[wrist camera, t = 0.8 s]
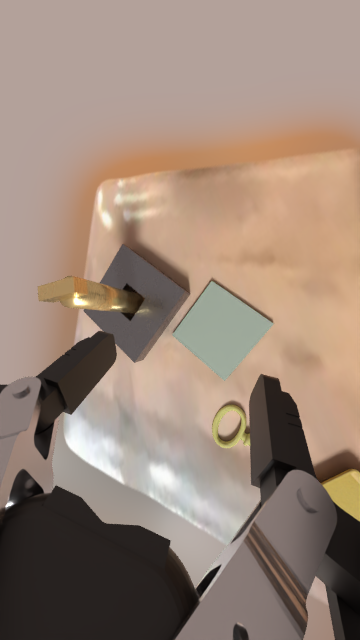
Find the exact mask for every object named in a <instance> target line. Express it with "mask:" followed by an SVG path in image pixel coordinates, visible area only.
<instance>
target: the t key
mask: <svg viewBox="0 0 360 640" xmlns="http://www.w3.org/2000/svg"><path fill="white" fill-rule="evenodd" d="M38 298H39V301H44V302H58V301H60V302H61V304H62V305H63V306H65V307H68V308H80V309H91V310H102V311H114V312H125V313H136V312H137V311H138V309H139V308H140V306H141V305H142V303H143V302H144V300H145V298H144V297H143V296H141V295H140V294H138V293H134V292H130V291H126V290H123V289H119V288H115V287H111V286H108V285H104V284H100V283H96V282H93V281H89V280H85V279H82V278H78V277H74V276H67V277H65V278H64V279H62V280H59V281H55V282H52V283H48V284H45V285H41V286H38Z"/></svg>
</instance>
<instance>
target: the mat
mask: <svg viewBox="0 0 360 640" xmlns="http://www.w3.org/2000/svg"><path fill="white" fill-rule="evenodd" d="M272 325H273V323H272V322H270V321H269V320H268V319H266V318H265V317H263V316H262V315H260V314H259V313H258V312H256V311H255V310H253V309H252V308H250V307H249V306H247V305H246V304H245V303H243V302H242V301H240V300H239V299H237V298H236V297H235V296H233V295H232V294H230V293H229V292H227V291H226V290H224V289H223V288H222V287H220V286H219V285H217V284H216V283H214V282H213V281H211V282H210V284H209V285H208V287H207V288H206V289H205V291H204V292H203V293H202V295H201V296H200V298H199V299H198V300H197V302H196V303H195V304H194V306H193V307H192V308H191V310H190V311H189V313H188V314H187V315H186V317H185V318H184V319H183V321H182V322H181V324H180V325H179V326H178V328H177V329H176V330H175V332H174V333H173V336H174V337H175V338H176V339H177V340H178V341H179V342H181V343H182V344H183V345H184V346H185V347H186V348H188V349H189V350H190V351H191V352H192V353H193V354H194V355H196V356H197V357H198V358H199V359H200V360H201V361H202V362H204V363H205V364H206V365H207V366H208V367H209V368H210V369H212V370H213V371H214V372H215V373H216V374H217V375H218V376H220V377H221V378H222V379H223V380H224V381H225V380H226V379H227V378H228V376H229V375H230V374H231V373H232V372H233V371H234V369H235V368H236V367H237V366H238V365H239V364H240V363H241V361H242V360H243V359H244V358H245V357H246V356H247V354H248V353H249V352H250V351H251V350H252V349H253V347H254V346H255V345H256V344H257V343H258V342H259V340H260V339H261V338H262V337H263V336H264V335H265V333H266V332H267V331H268V330H269V329H270V328H271V326H272Z"/></svg>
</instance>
